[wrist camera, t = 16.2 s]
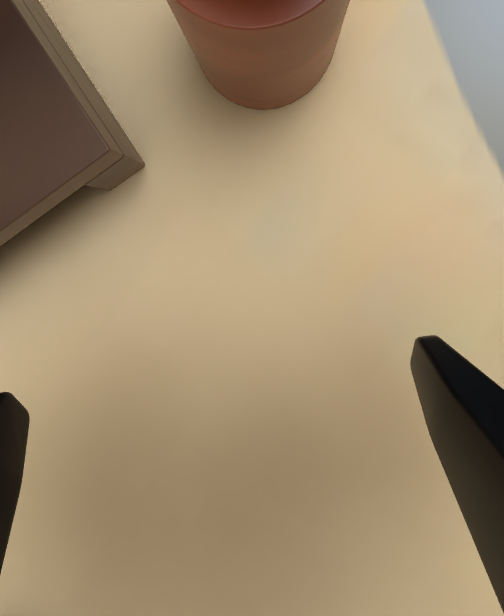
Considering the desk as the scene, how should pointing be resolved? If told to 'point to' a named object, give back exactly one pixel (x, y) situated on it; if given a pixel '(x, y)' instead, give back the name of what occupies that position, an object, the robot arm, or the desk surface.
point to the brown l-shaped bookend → (50, 122)
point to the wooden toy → (261, 45)
